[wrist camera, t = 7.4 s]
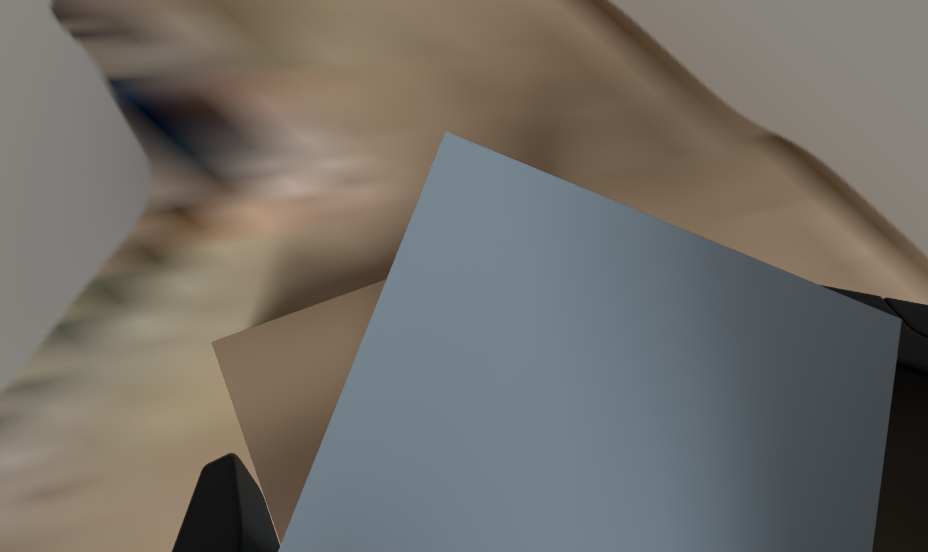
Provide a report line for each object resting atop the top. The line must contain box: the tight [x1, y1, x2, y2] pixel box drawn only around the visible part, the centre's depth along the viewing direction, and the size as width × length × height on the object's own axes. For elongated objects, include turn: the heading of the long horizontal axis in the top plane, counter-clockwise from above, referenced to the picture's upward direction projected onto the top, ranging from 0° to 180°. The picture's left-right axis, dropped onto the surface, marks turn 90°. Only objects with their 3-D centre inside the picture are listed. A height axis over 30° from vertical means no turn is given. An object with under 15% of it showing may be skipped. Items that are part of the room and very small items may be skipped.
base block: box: [212, 279, 387, 543], centre depth 19 cm, size 9×9×4 cm
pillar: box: [278, 131, 902, 552], centre depth 10 cm, size 4×4×11 cm
